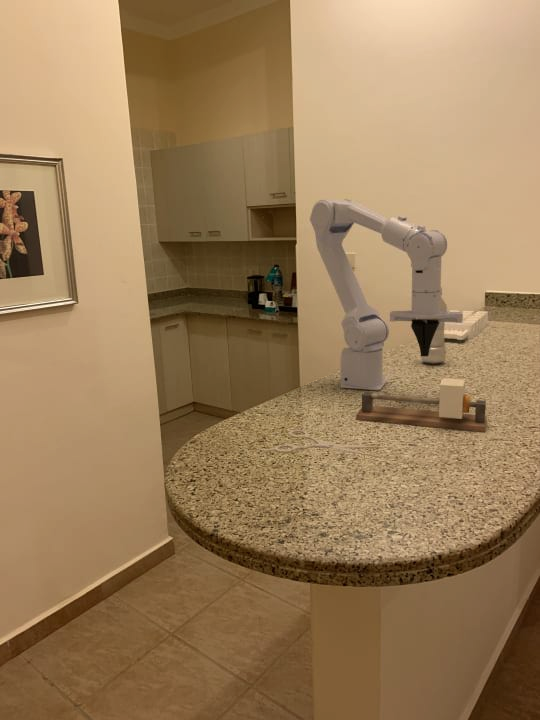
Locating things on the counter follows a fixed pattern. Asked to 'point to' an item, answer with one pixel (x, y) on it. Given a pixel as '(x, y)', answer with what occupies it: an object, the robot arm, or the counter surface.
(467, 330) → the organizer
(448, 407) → the tan wooden block
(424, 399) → the rod base
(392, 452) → the counter surface
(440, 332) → the plastic bottle
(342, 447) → the scissors
